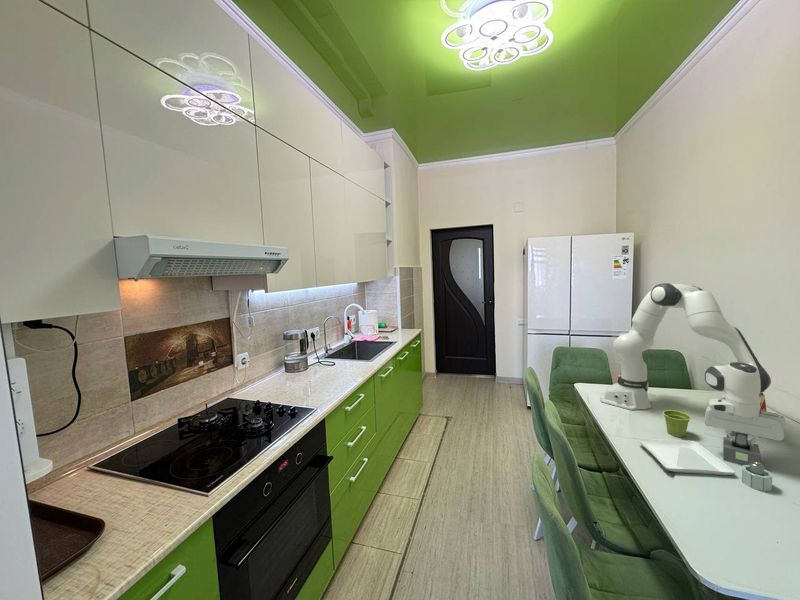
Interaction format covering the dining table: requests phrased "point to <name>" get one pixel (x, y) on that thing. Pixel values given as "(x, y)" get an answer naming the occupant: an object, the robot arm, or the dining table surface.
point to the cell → (741, 440)
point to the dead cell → (757, 468)
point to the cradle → (740, 453)
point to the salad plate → (669, 455)
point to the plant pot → (676, 422)
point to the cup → (757, 479)
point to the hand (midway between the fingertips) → (741, 443)
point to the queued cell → (731, 434)
